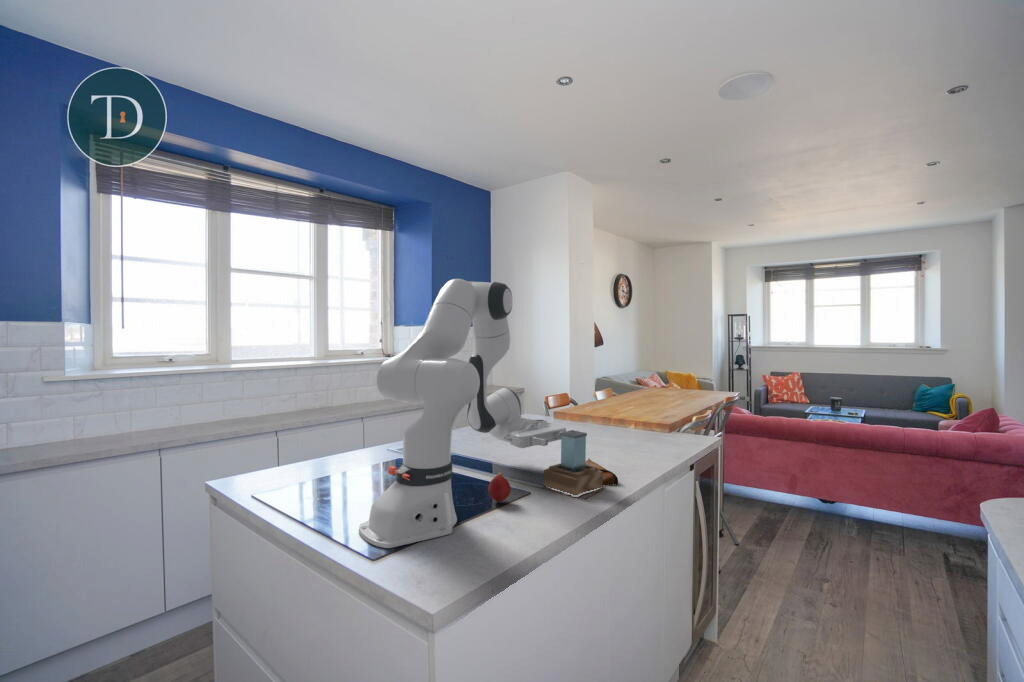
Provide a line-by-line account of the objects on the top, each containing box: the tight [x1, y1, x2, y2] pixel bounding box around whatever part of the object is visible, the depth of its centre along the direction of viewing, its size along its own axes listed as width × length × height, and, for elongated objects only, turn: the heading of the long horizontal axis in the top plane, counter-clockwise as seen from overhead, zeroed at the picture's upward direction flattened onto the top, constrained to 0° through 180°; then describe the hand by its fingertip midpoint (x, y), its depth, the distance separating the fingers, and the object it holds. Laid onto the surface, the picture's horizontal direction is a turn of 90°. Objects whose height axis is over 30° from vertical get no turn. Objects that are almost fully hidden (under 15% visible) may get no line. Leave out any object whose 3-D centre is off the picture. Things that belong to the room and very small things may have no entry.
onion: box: [487, 472, 512, 503], centre depth 125 cm, size 6×6×8 cm
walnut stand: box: [543, 462, 604, 495], centre depth 137 cm, size 12×12×6 cm
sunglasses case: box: [585, 458, 619, 486], centre depth 148 cm, size 18×7×7 cm
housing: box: [560, 429, 588, 473], centre depth 137 cm, size 5×5×11 cm
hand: (557, 440), depth 142 cm, fingers open, 8 cm apart
